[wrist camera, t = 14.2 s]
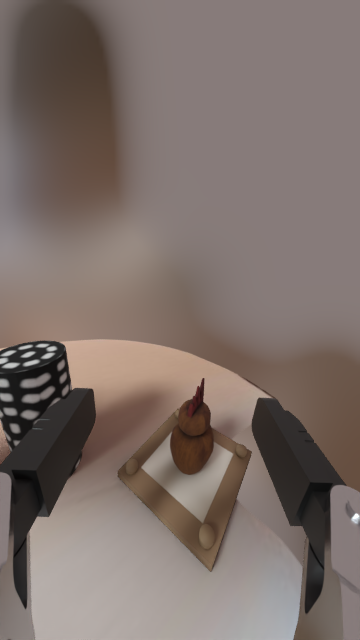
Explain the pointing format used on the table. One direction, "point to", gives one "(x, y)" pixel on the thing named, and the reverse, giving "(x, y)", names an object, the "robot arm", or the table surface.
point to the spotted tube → (31, 386)
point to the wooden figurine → (192, 435)
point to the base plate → (188, 489)
